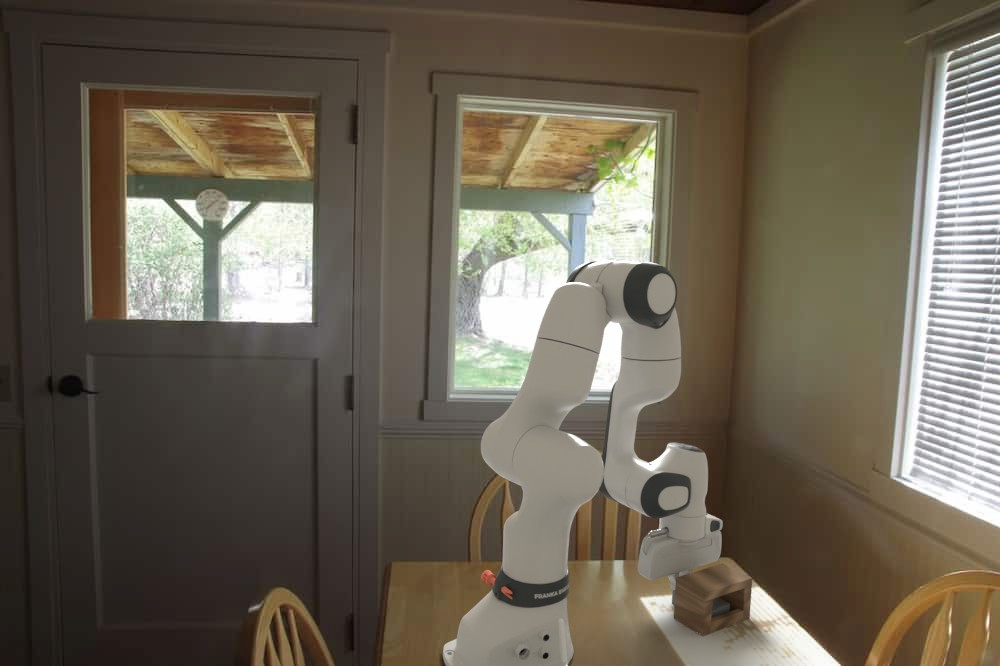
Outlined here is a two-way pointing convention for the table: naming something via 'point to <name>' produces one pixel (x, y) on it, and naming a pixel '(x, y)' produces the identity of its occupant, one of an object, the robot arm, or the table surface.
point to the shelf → (705, 586)
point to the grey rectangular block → (713, 606)
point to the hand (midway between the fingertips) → (678, 589)
